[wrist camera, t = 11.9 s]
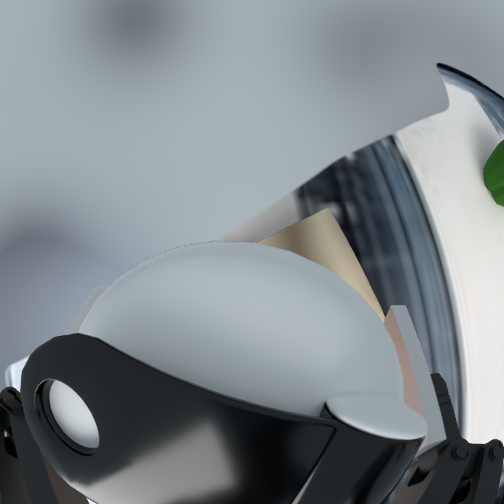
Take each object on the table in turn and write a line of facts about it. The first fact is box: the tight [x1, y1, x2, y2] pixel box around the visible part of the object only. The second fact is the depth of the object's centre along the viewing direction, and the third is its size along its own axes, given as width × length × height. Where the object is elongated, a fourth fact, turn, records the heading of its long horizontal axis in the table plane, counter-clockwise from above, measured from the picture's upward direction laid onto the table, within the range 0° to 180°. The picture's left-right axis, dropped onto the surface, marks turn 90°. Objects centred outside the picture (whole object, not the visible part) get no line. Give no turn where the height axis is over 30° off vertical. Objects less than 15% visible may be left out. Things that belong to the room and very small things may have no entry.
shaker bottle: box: [20, 241, 428, 504], centre depth 13 cm, size 9×9×20 cm
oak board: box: [257, 207, 385, 322], centre depth 23 cm, size 22×14×2 cm, turn 116°
